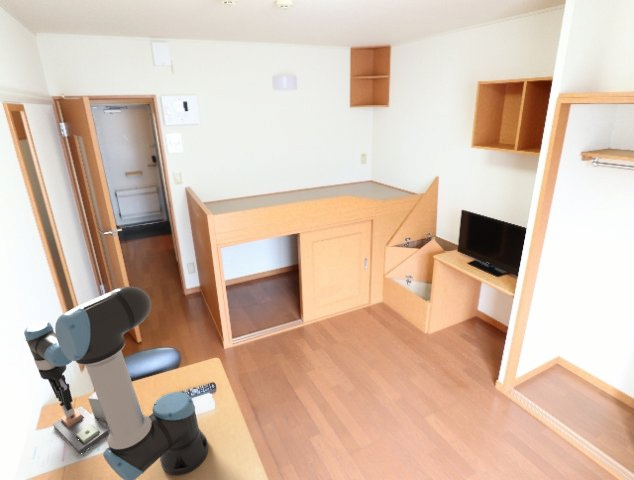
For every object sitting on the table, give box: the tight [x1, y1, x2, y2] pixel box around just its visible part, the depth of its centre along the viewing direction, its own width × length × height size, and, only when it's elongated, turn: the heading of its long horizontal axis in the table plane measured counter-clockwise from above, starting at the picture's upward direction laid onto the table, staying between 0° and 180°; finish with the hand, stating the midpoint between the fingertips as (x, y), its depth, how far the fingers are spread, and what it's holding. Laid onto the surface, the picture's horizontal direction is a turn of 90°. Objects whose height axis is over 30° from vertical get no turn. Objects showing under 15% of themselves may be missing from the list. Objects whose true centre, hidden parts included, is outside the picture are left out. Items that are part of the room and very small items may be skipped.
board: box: [52, 405, 110, 455], centre depth 135 cm, size 20×10×2 cm, turn 55°
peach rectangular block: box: [60, 408, 83, 429], centre depth 138 cm, size 5×5×3 cm
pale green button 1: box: [77, 424, 99, 445], centre depth 132 cm, size 5×5×3 cm
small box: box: [87, 391, 107, 422], centre depth 141 cm, size 8×6×10 cm
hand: (70, 414), depth 138 cm, fingers closed
